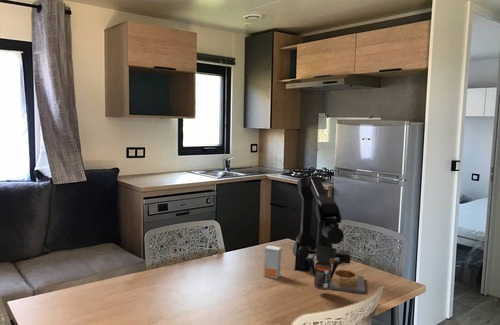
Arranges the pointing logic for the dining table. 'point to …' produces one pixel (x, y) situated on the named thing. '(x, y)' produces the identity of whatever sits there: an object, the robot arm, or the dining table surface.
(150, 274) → the dining table surface
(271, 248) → the skincare box
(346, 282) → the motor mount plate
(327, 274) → the supplement bottle
